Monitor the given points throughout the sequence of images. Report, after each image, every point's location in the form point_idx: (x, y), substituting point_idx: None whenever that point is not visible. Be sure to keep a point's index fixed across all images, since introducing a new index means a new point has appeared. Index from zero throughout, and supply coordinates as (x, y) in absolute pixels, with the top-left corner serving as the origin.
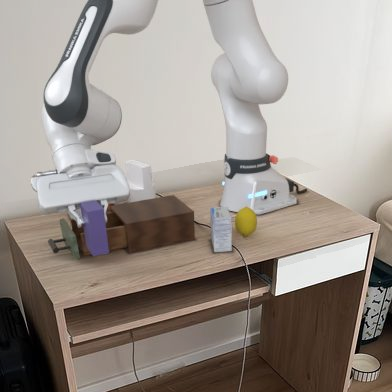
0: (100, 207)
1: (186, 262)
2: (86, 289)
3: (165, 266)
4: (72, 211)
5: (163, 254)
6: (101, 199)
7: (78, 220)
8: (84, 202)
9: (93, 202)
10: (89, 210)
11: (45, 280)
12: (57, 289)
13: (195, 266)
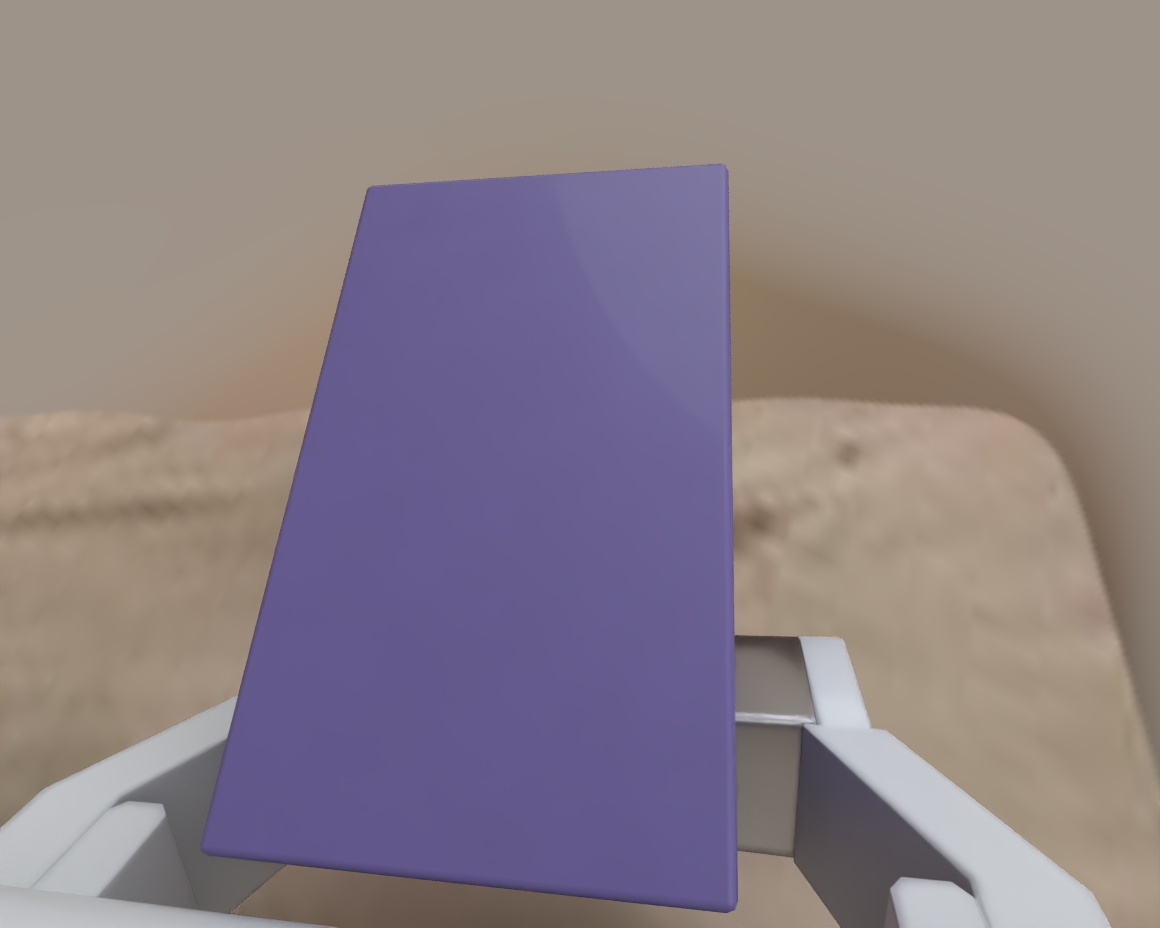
0: (375, 287)
1: (80, 543)
2: (812, 490)
3: (212, 555)
4: (990, 854)
5: (96, 754)
6: (27, 890)
7: (839, 670)
8: (577, 872)
9: (345, 703)
10: (653, 210)
11: (1143, 815)
12: (1033, 589)
13: (84, 467)
